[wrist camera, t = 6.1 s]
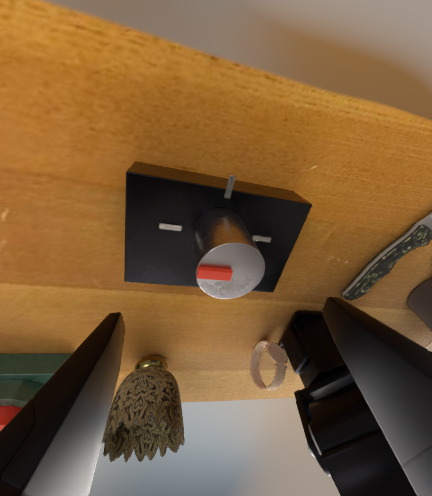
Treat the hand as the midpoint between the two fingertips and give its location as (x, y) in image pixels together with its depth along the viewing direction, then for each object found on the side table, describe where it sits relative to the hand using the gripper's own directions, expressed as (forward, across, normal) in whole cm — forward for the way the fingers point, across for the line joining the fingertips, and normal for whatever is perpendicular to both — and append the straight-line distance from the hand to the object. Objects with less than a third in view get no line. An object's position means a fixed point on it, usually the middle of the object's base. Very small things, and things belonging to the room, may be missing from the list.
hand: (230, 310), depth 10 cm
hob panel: (+10, 0, +1) cm, 10 cm away
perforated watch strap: (+10, -7, +18) cm, 21 cm away
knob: (+7, 0, 0) cm, 7 cm away
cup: (+10, +6, +18) cm, 22 cm away
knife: (+9, -22, +2) cm, 24 cm away
